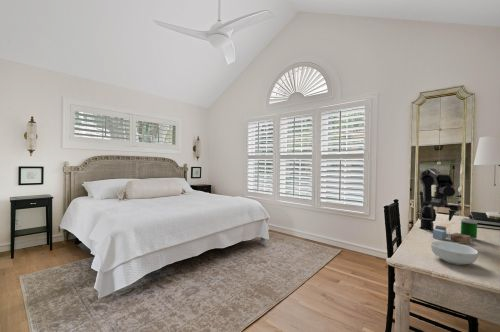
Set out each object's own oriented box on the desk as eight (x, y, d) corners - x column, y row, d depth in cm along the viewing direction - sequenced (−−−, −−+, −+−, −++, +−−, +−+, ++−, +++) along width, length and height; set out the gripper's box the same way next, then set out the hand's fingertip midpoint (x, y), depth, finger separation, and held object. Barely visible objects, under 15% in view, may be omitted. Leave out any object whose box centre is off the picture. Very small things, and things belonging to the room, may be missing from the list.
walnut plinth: (450, 240, 146) (450, 234, 146) (455, 239, 149) (455, 232, 149) (465, 244, 140) (465, 237, 140) (470, 242, 143) (470, 235, 143)
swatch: (443, 236, 154) (443, 235, 154) (447, 235, 156) (447, 234, 156) (453, 238, 150) (453, 238, 150) (456, 237, 152) (456, 237, 152)
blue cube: (432, 237, 151) (433, 229, 151) (436, 236, 154) (437, 228, 154) (442, 240, 147) (442, 231, 147) (446, 238, 149) (446, 230, 149)
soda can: (477, 241, 146) (478, 221, 146) (461, 238, 150) (461, 219, 150) (475, 238, 152) (476, 219, 152) (460, 235, 156) (460, 217, 156)
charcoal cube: (435, 234, 159) (435, 226, 159) (436, 232, 163) (436, 225, 163) (444, 235, 156) (445, 228, 156) (445, 234, 159) (446, 226, 159)
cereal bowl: (427, 260, 114) (428, 245, 114) (433, 252, 126) (434, 238, 126) (476, 273, 102) (477, 256, 102) (478, 262, 114) (478, 247, 114)
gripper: (418, 193, 154) (417, 217, 154) (454, 197, 138) (453, 224, 138) (427, 192, 159) (426, 215, 160) (462, 196, 143) (461, 222, 144)
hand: (440, 219), depth 150 cm, fingers open, 9 cm apart
